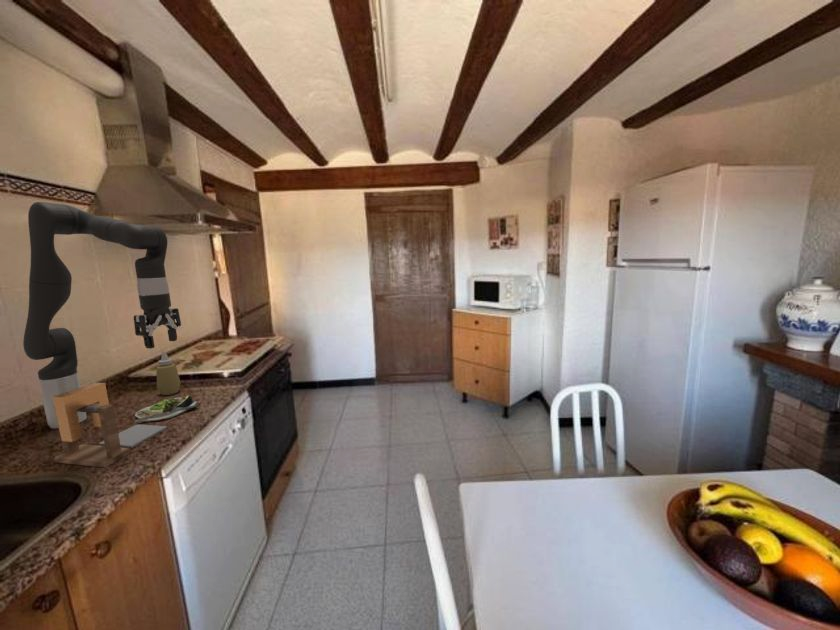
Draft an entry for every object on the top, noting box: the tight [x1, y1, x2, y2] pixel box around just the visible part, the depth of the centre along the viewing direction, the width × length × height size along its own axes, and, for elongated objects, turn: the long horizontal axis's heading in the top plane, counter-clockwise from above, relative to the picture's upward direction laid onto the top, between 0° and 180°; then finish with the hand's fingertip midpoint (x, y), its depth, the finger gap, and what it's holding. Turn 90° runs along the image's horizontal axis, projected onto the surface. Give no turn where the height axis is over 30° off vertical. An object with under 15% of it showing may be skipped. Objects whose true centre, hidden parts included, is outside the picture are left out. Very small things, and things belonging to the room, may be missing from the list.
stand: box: [54, 403, 132, 468], centre depth 98 cm, size 17×7×16 cm, turn 80°
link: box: [52, 382, 110, 442], centre depth 97 cm, size 4×10×12 cm, turn 170°
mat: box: [98, 424, 168, 449], centre depth 111 cm, size 12×12×1 cm
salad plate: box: [134, 394, 199, 423], centre depth 127 cm, size 19×18×5 cm
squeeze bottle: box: [155, 351, 181, 396], centre depth 145 cm, size 8×8×18 cm
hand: (162, 344), depth 108 cm, fingers open, 8 cm apart
